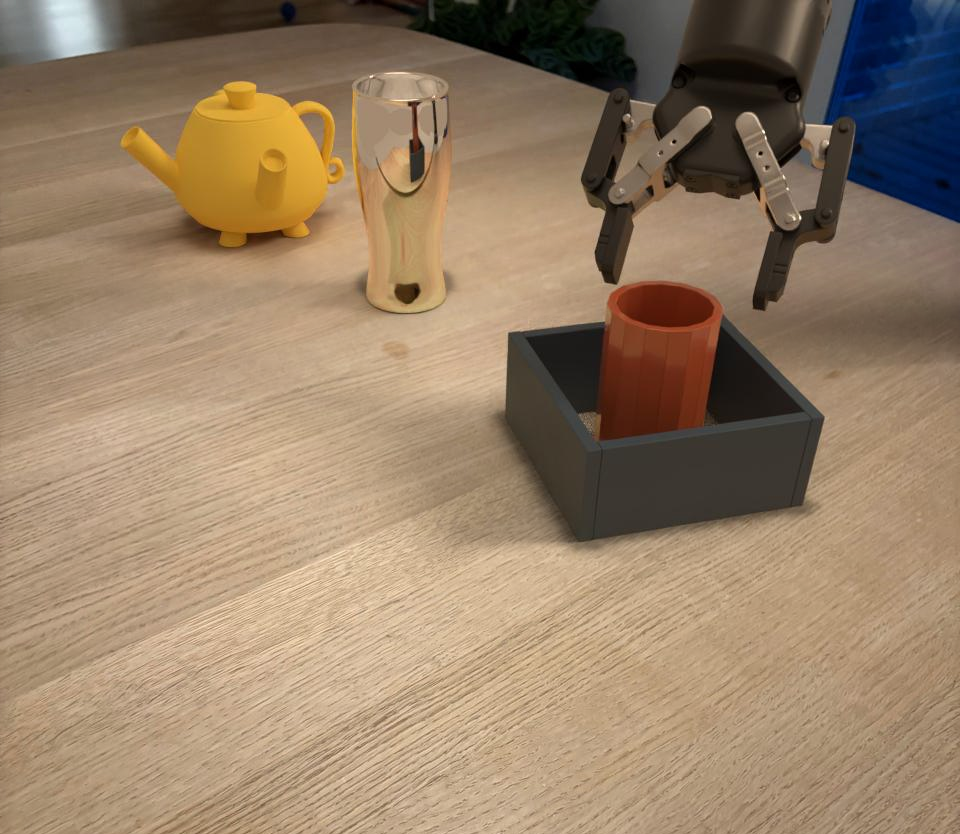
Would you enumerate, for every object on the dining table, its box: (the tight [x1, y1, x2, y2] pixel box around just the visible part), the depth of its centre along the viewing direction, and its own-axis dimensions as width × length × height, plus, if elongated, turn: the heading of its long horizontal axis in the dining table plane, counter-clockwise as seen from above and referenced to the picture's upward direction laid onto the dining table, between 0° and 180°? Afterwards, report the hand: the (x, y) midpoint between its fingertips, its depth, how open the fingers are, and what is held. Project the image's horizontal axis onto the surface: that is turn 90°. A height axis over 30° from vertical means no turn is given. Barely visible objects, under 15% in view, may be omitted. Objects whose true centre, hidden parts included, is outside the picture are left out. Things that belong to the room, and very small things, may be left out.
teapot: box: [120, 80, 345, 248], centre depth 91 cm, size 14×14×11 cm
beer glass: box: [351, 71, 453, 314], centre depth 81 cm, size 7×7×15 cm
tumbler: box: [593, 280, 724, 442], centre depth 64 cm, size 6×6×10 cm
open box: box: [504, 313, 826, 543], centre depth 66 cm, size 14×14×7 cm
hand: (682, 292), depth 62 cm, fingers open, 8 cm apart
